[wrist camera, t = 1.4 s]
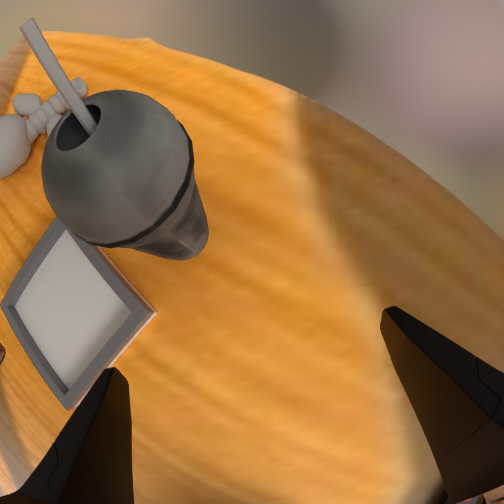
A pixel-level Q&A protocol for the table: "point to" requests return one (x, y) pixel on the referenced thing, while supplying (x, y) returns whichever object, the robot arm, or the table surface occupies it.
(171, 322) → the table surface
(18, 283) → the tray
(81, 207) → the beverage cup
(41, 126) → the toy creature
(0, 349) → the sunglasses case
